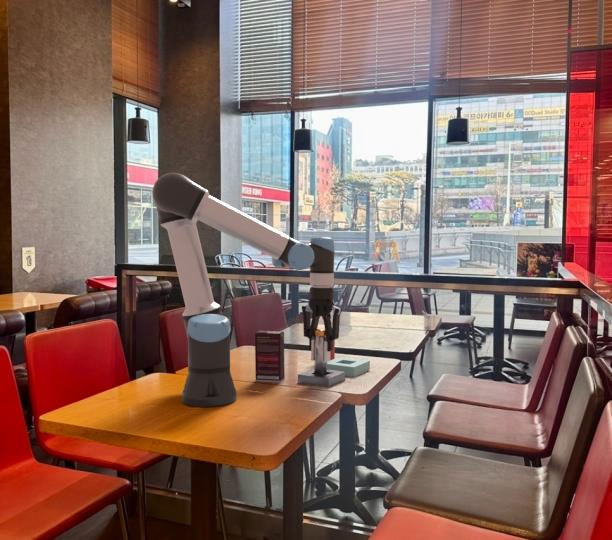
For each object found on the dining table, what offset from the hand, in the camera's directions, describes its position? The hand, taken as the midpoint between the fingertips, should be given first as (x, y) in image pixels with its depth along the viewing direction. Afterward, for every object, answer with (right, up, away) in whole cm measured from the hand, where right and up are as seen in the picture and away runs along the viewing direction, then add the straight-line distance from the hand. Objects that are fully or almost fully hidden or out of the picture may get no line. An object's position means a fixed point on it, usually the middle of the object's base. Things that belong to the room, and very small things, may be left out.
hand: (320, 360), depth 184 cm
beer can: (+3, -6, +29) cm, 30 cm away
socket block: (+9, -6, +15) cm, 19 cm away
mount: (0, -7, 0) cm, 7 cm away
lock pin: (0, -4, 0) cm, 4 cm away
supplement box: (-16, -7, +2) cm, 18 cm away
